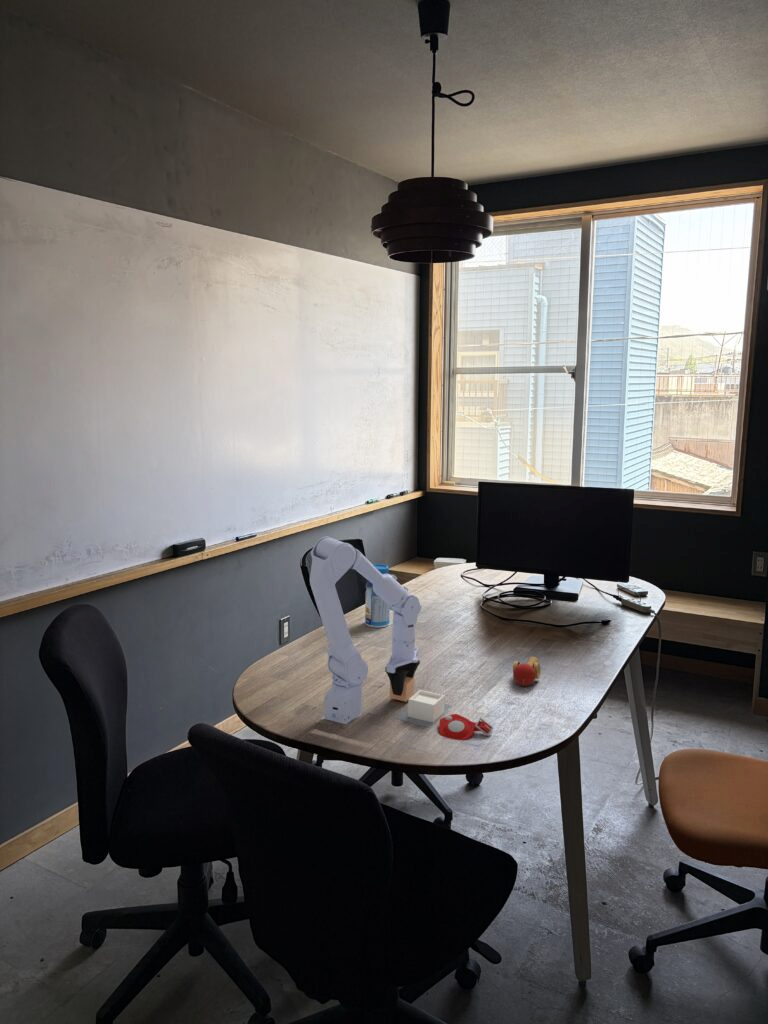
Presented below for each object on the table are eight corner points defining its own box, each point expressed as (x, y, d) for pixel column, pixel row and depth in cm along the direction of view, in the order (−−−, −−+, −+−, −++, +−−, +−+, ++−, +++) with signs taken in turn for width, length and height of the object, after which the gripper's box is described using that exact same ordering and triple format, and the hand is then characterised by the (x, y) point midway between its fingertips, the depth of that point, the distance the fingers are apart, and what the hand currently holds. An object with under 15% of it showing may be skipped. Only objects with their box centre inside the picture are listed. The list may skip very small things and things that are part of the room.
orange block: (405, 701, 189) (406, 684, 188) (389, 697, 191) (390, 680, 190) (413, 695, 193) (414, 678, 192) (397, 691, 195) (398, 674, 194)
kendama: (516, 669, 221) (505, 682, 204) (522, 648, 221) (511, 660, 204) (542, 677, 219) (533, 692, 202) (548, 657, 218) (539, 669, 201)
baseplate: (429, 730, 177) (429, 727, 177) (394, 721, 181) (394, 718, 181) (452, 708, 189) (452, 705, 189) (419, 701, 193) (419, 698, 193)
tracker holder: (448, 743, 169) (429, 715, 177) (449, 758, 171) (431, 730, 179) (496, 725, 172) (475, 698, 181) (497, 739, 174) (476, 713, 183)
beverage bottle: (381, 630, 249) (382, 570, 245) (359, 625, 253) (360, 566, 250) (394, 623, 256) (396, 565, 252) (373, 619, 260) (374, 562, 257)
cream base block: (433, 722, 179) (433, 705, 178) (408, 716, 182) (408, 699, 181) (444, 712, 185) (444, 695, 184) (419, 706, 188) (420, 689, 187)
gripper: (405, 650, 181) (403, 704, 183) (430, 634, 194) (428, 684, 196) (379, 645, 184) (377, 698, 186) (405, 629, 197) (403, 679, 199)
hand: (401, 691), depth 191 cm, fingers closed on orange block, 5 cm apart
